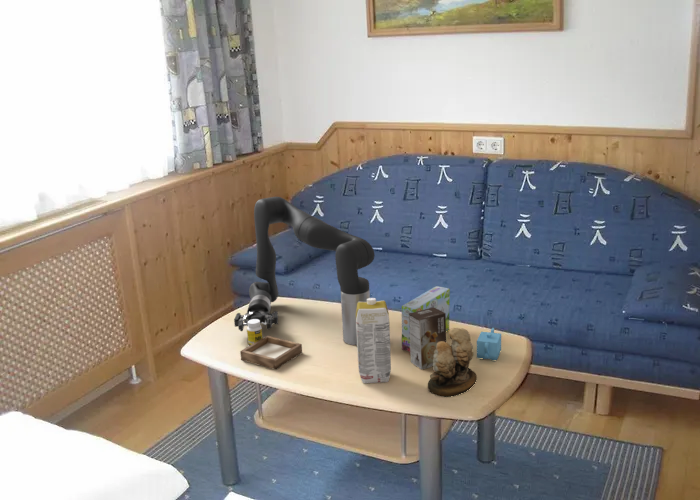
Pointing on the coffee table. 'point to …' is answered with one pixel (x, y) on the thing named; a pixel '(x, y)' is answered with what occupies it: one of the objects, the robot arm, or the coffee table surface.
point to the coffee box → (426, 335)
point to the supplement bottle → (254, 331)
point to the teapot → (489, 345)
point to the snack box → (429, 299)
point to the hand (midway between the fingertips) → (254, 327)
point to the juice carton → (373, 341)
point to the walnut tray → (271, 352)
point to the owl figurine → (452, 365)
